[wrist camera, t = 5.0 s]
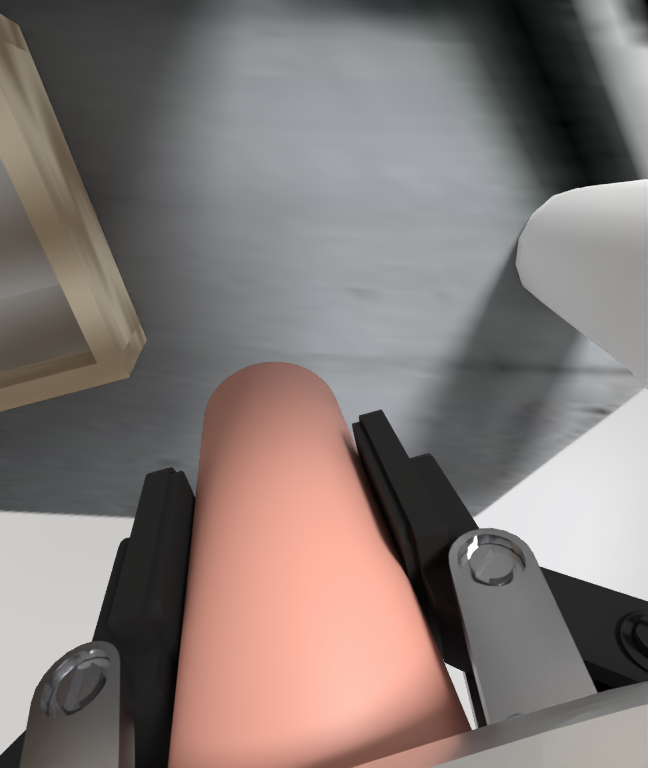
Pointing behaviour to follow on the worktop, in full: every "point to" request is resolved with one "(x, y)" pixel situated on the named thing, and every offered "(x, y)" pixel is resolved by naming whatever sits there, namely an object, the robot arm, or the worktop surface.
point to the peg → (297, 595)
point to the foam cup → (594, 266)
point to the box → (52, 254)
